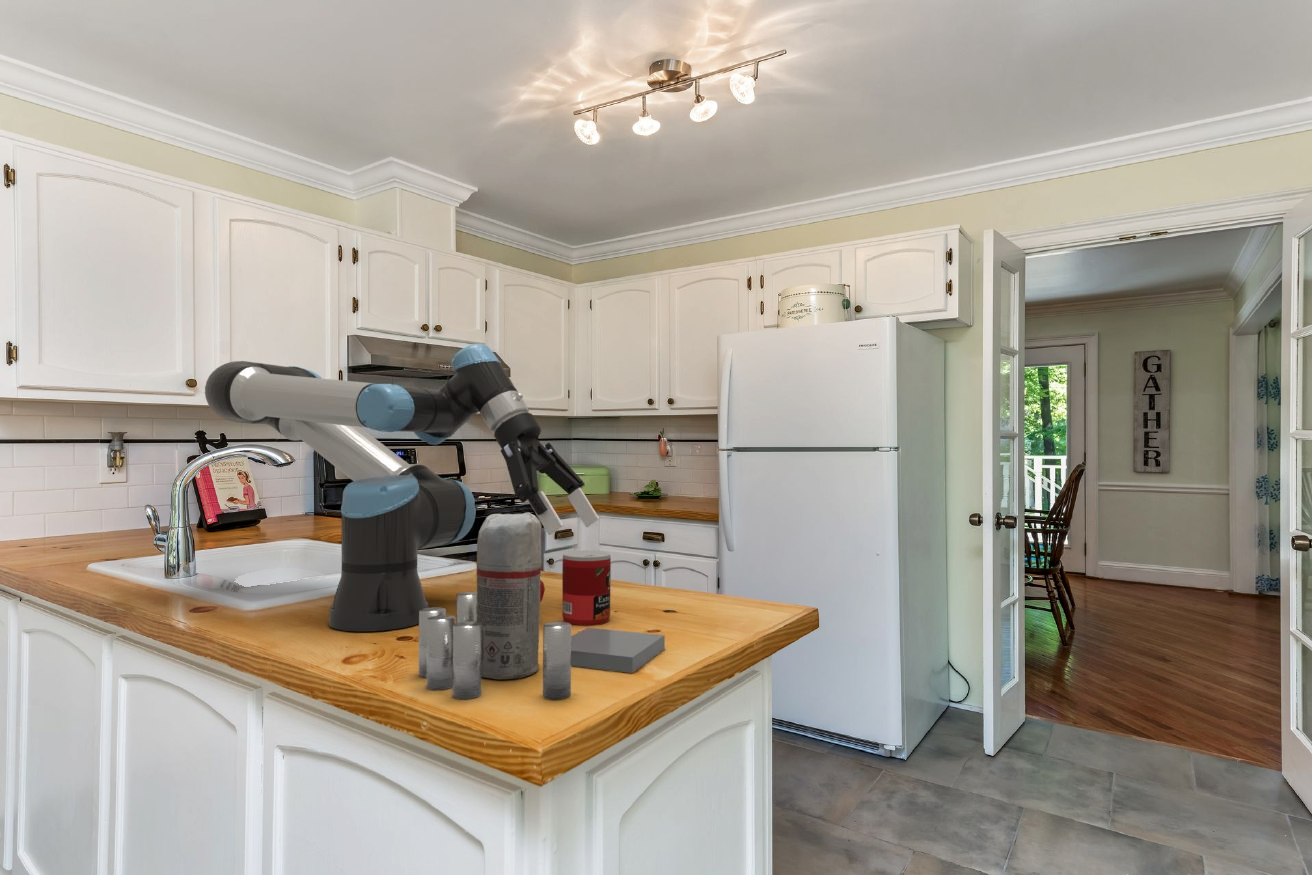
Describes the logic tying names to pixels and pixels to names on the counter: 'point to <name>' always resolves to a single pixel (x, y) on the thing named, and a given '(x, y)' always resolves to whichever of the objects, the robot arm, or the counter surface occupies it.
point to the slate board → (614, 649)
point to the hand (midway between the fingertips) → (575, 526)
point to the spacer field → (457, 651)
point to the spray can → (509, 594)
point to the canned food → (586, 587)
